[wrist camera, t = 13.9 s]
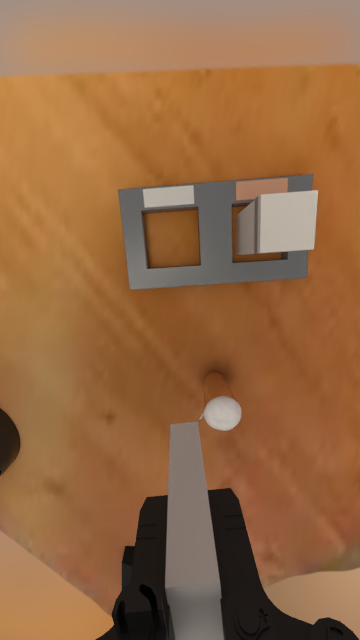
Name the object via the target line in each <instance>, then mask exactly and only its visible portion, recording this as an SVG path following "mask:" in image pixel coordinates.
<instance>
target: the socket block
mask: <svg viewBox="0 0 360 640" xmlns="http://www.w3.org/2000/svg"><path fill="white" fill-rule="evenodd" d="M312 181H313V174H309V175H297V176H284V177H271V178H259V179H246V180H234V181H221V182H208V183H196V184H183V185H170V186H158V187H145V188H133V189H120V190H118V193H119V201H120V210H121V218H122V226H123V235H124V243H125V251H126V260H127V268H128V276H129V285H130V290H133V289H149V288H164V287H179V286H194V285H209V284H224V283H239V282H254V281H269V280H284V279H299V278H306V275H307V260H308V250H305V251H291V252H282V254H281V260H267V261H253V262H238V263H232V207H240V206H248V205H249V204H250V203H252V202H253V201H254V200H255V198H256V197H257V196H260V195H262V194H275V193H288V192H301V191H312ZM187 210H198V232H199V254H200V265H195V266H180V267H165V268H151V269H149V262H148V252H147V242H146V231H145V221H144V214H148V213H161V212H174V211H187Z"/></svg>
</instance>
